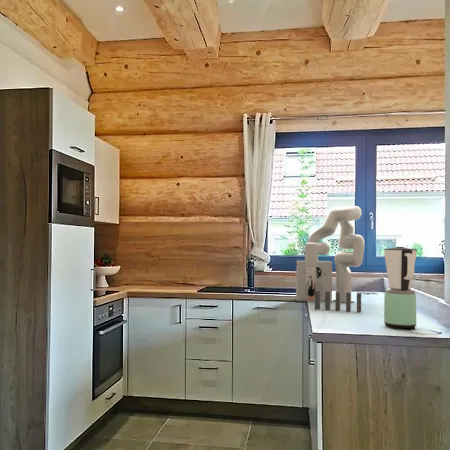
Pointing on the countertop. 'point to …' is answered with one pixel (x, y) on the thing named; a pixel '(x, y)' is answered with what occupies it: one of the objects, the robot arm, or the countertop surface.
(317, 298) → the domino
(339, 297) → the domino
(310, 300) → the domino
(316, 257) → the robot arm
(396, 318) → the juicer
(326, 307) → the domino
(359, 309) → the domino
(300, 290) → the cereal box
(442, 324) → the countertop surface
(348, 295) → the domino
